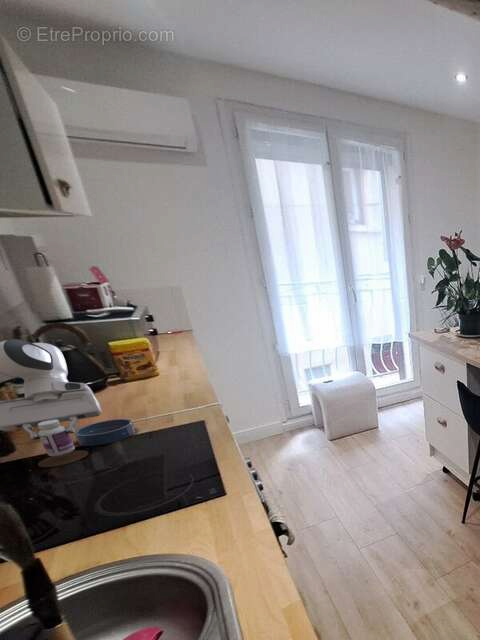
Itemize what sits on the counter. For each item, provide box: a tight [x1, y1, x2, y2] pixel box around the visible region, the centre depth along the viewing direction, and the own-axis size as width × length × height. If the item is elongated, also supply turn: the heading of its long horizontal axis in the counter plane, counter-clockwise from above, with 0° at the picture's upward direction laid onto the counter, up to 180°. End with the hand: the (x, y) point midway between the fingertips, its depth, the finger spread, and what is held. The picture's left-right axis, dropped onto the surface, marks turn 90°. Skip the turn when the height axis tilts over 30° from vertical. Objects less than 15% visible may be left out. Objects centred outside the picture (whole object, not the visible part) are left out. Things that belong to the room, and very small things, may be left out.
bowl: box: [74, 418, 137, 447], centre depth 132 cm, size 13×13×4 cm
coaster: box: [37, 449, 89, 468], centre depth 119 cm, size 10×10×1 cm
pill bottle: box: [37, 419, 76, 457], centre depth 117 cm, size 5×5×10 cm
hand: (53, 435), depth 116 cm, fingers closed on pill bottle, 5 cm apart
